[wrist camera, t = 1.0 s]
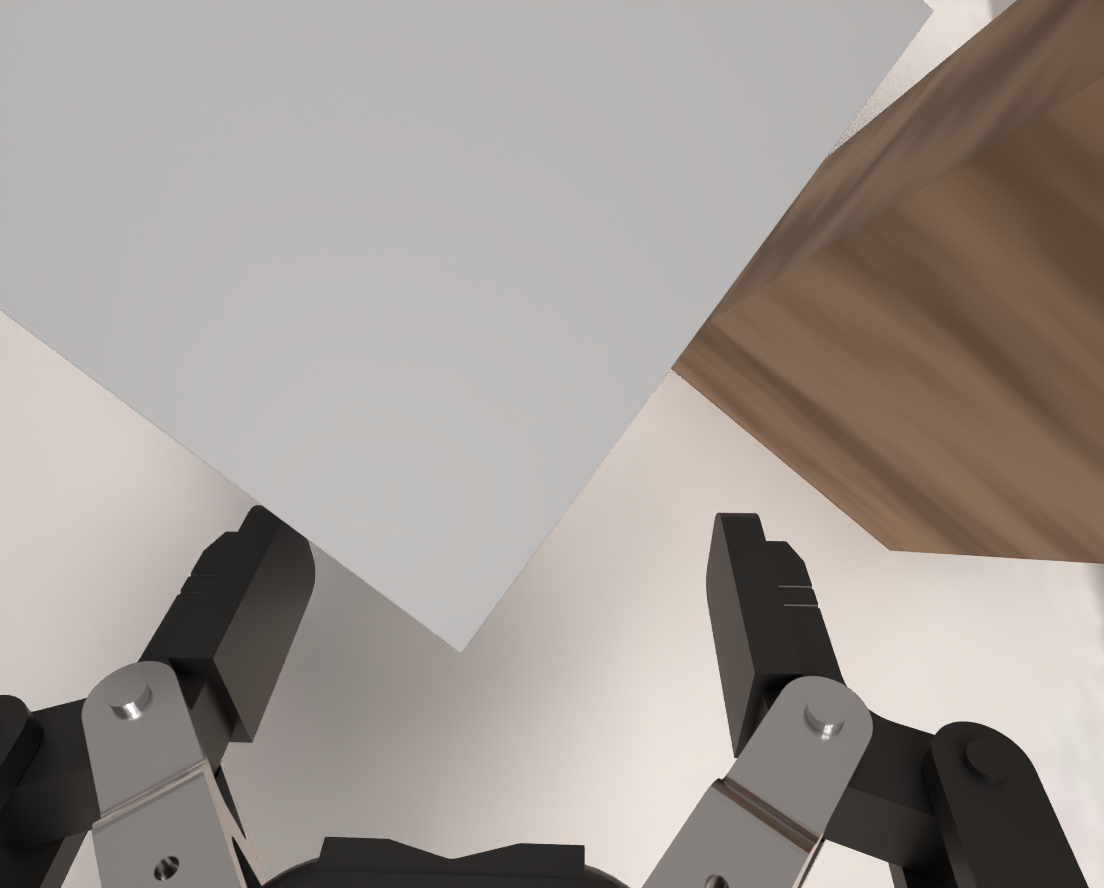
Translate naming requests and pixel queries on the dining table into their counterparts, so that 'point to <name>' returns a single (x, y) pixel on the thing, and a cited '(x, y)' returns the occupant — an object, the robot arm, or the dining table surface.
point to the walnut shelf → (943, 306)
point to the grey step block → (408, 237)
